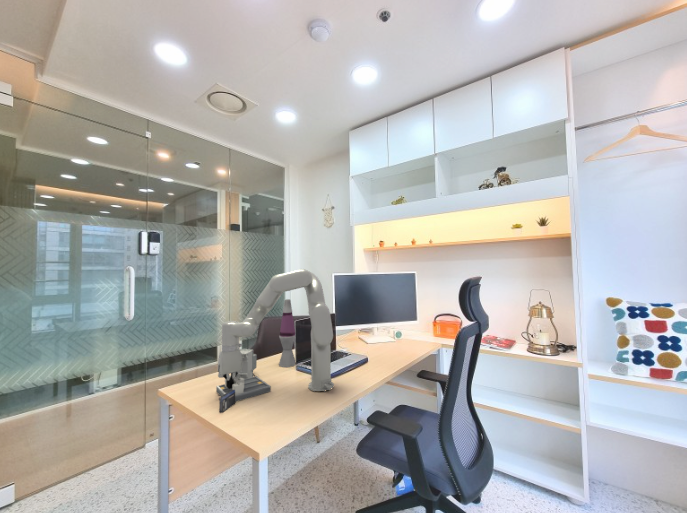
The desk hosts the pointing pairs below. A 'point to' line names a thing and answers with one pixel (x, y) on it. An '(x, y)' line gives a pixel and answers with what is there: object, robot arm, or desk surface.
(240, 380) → the tab
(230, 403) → the mini dv tape
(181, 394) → the desk surface
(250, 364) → the circuit breaker
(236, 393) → the tab
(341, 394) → the desk surface
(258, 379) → the switch bank
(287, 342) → the lamp
